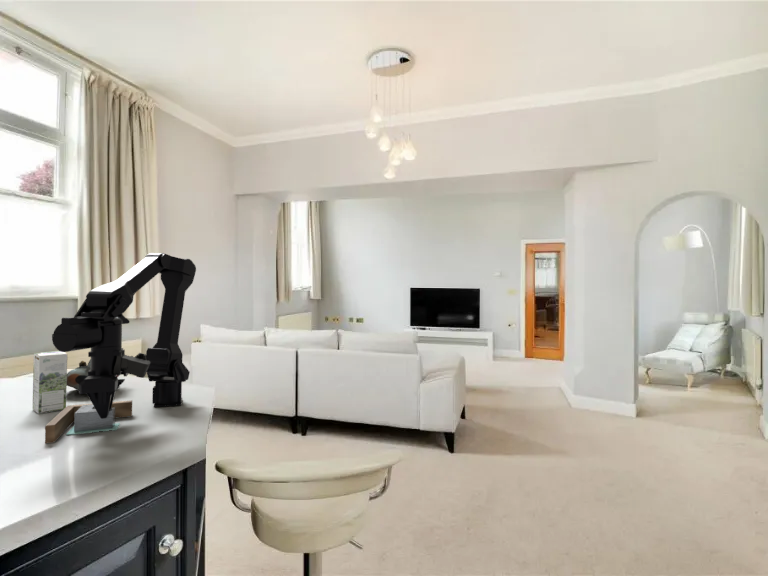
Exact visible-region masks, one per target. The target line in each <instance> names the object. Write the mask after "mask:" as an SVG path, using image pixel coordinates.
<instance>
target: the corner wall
mask: <svg viewBox="0 0 768 576" xmlns="http://www.w3.org/2000/svg"><path fill="white" fill-rule="evenodd" d="M91 404H92V403H84V404H83V403H82V404H71V405H69V404H68V405H66V408H65V409H63V410H60V412H59V413H57V414H56V415H55V417H54V418H52V419H51V420H50V421H49V422H48V423H47V424H46V425H45V426H44V427H45V431H44V433H45V434H44V439H45V440H44V443H45V444H52V443H55V442H56V441H57V440H58V439H60V437H61V436H62V435H63V434H64V433H65V432H66V431H67V430H68V428H69V427H71V425H72V424H73V423H74V418H75V412H76V411H77V410H78V409H79V408H80V407H81V406H82V405H91ZM112 407H115V419H117V418H116V417H119V418H125V417H126V418H128V417H127V416H130V417H132V415H133V399H132V400H123V401H122V400H121V401H120V400H119V401H118V400H117V401H113V404H112ZM112 407H111V408H112Z"/></svg>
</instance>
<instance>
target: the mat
mask: <svg viewBox="0 0 768 576" xmlns="http://www.w3.org/2000/svg"><path fill="white" fill-rule="evenodd" d="M120 425H121V422H118V423H116V422H115V425H114V427H113V428H110V429H100V430H89V431H78V432H74V425H73V426H72V427H71V429H70V430H69V431H68V432H66V434H65V435H66V436H72V435H80V434H81V435H82V434H90V433H92V432H93V433H99V431H103V432H110V431H109V430H112V431H117V430H118V429H119V427H120Z"/></svg>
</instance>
